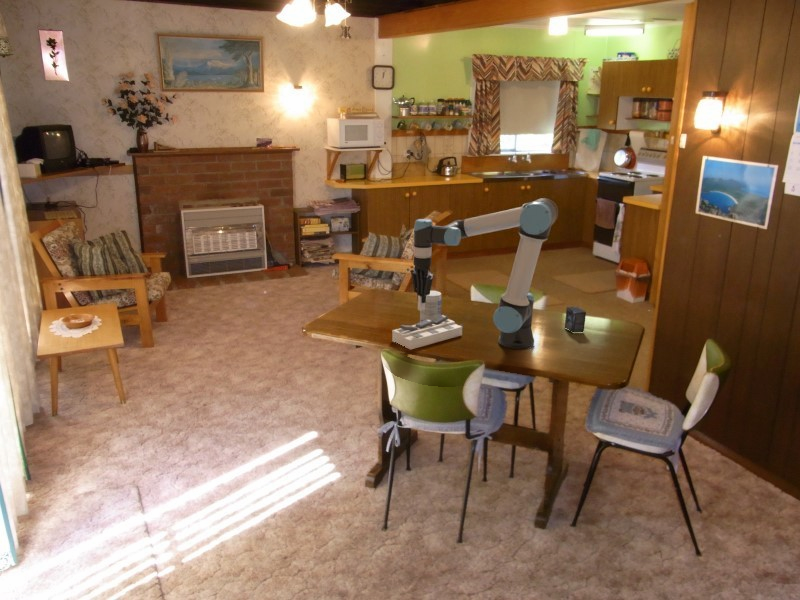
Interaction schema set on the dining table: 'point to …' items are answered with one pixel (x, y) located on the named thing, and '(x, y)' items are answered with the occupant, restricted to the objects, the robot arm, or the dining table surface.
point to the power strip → (427, 334)
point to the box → (575, 319)
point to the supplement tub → (431, 306)
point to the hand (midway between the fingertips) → (421, 309)
